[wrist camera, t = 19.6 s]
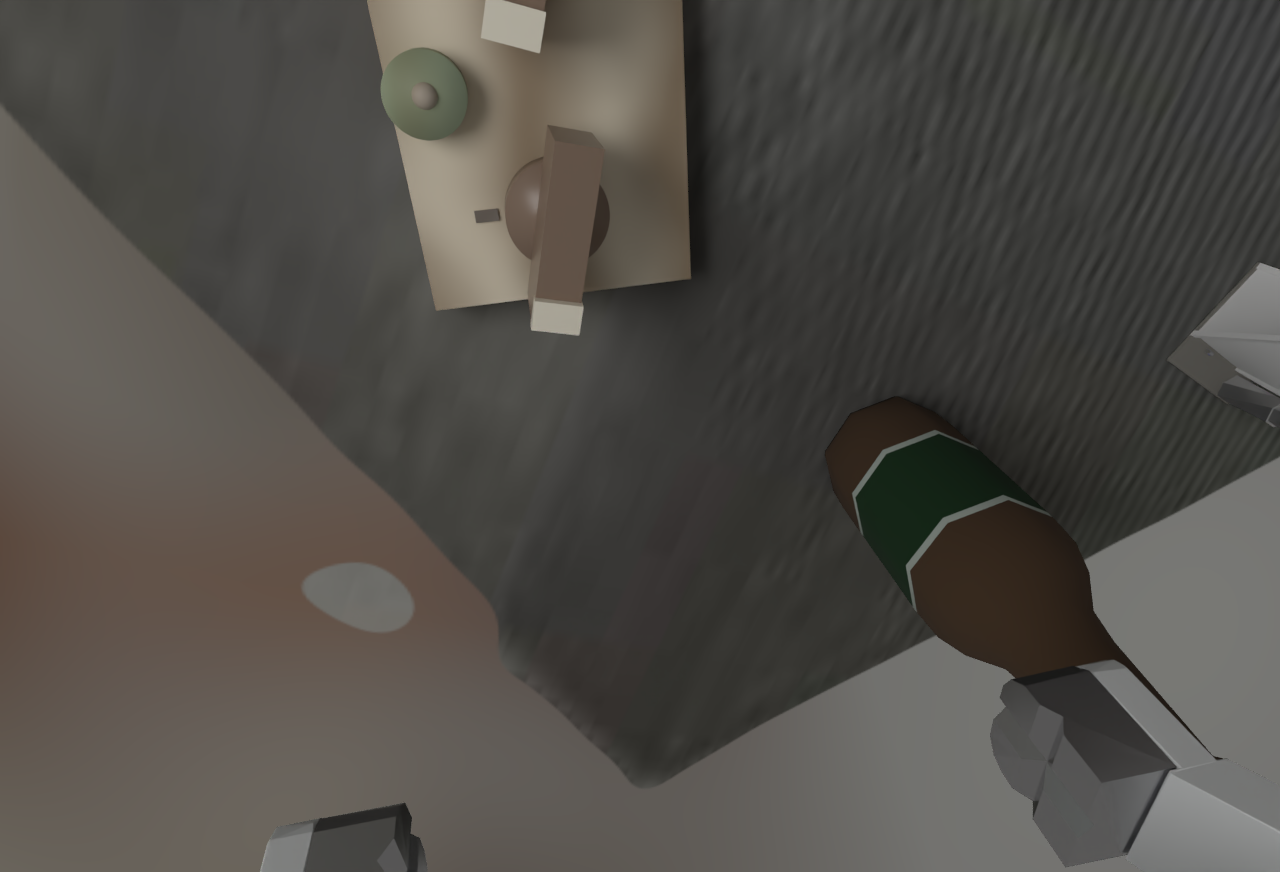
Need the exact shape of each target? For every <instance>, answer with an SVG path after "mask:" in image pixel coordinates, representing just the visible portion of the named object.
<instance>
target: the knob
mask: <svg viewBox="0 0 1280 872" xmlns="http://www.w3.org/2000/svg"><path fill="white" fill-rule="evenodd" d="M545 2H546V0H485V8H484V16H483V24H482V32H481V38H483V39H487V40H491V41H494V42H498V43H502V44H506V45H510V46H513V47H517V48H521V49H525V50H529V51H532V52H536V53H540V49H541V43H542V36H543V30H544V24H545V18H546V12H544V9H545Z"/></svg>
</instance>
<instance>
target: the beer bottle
mask: <svg viewBox="0 0 1280 872" xmlns="http://www.w3.org/2000/svg"><path fill="white" fill-rule="evenodd" d="M825 457H826V461H827V465H828V470H829V474H830V478H831V483H832V487H833V491H834V493H835V494H836V496H837V498H838V499H839V501H840V503H841V505H842V506H843V508H844V509H845V511H846V512H847V514H848V515H849V517H850V518H851V519H852V521H853V522H854V524H855V525H856V526H857V528H858V529H859V531H860V532H861V534H862V535H863V536H864V538H865V539H866V541H867V542H868V544H869V545H870V546H871V548H872V549H873V551H874V552H875V553H876V555H877V556H878V558H879V559H880V561H881V562H882V563H883V565H884V566H885V568H886V569H887V570H888V572H889V573H890V575H891V576H892V578H893V579H894V580H895V582H896V583H897V585H898V586H899V588H900V589H901V590H902V592H903V593H904V595H905V596H906V597H907V599H908V600H909V602H910V603H911V605H912V606H913V607H914V609H915V610H916V612H917V613H918V614H919V615H920V616H921V618H922V619H923V620H924V621H925V622H926V624H927V625H928V626H929V627H930V628H931V629H932V631H933V632H934V633H935V634H936V635H937V636H938V638H940V639H942V640H943V641H945V642H946V643H948V644H949V645H951V646H952V647H954V648H955V649H957V650H958V651H960V652H961V653H963V654H964V655H966V656H969V657H972V658H975V659H978V660H980V661H983V662H986V663H989V664H992V665H995V666H998V667H1001V668H1004V669H1006V670H1007V671H1009V673H1011V674H1012V675H1013V676H1014V677H1015V678H1020V677H1025V676H1029V675H1034V674H1038V673H1043V672H1047V671H1052V670H1056V669H1061V668H1065V667H1070V666H1080V665H1084V664H1089V663H1093V662H1098V661H1102V660H1115V661H1117V662H1119V663H1121V664H1123V665H1124V666H1125V667H1126V668H1128V669H1129V671H1130V672H1131V673H1132V674H1133V675H1134V676H1135V677H1136V678H1137V679H1138V680H1139V681H1140V682H1141V683H1142V684H1143V685H1144V686H1145V687H1146V688H1147V689H1148V690H1149V691H1150V692H1151V693H1152V694H1153V695H1154V696H1155V697H1156V698H1157V699H1158V700H1159V701H1160V702H1161V703H1162V705H1163V706H1164V707H1165V708H1166V709H1167V710H1168V711H1169V712H1170V713H1171V714H1172V715H1173V716H1174V717H1175V718H1176V719H1177V720H1178V721H1179V722H1180V723H1181V724H1182V725H1183V726H1184V727H1185V728H1186V729H1187V730H1188V731H1189V732H1190V733H1191V734H1192V735H1193V736H1194V738H1195V739H1196V740H1197V741H1198V742H1199V743H1200V744H1201V745H1202V746H1203V747H1204V748H1205V749H1206V747H1205V746H1204V745H1203V744H1202V743H1201V742H1200V740H1199V739H1198V738H1197V737H1196V736H1195V735H1194V734H1193V732H1192V731H1191V730H1190V729H1189V728H1188V727H1187V725H1186V724H1185V723H1184V722H1183V721H1182V720H1181V718H1180V717H1179V716H1178V715H1177V714H1176V713H1175V712H1174V710H1172V708H1171V707H1170V706H1169V705H1168V704H1167V703H1166V701H1165V700H1164V699H1163V698H1162V697H1161V695H1160V694H1159V693H1158V692H1157V691H1156V690H1155V688H1154V687H1153V686H1152V685H1151V684H1150V683H1149V682H1148V680H1147V679H1146V678H1145V677H1144V676H1143V675H1142V673H1141V672H1140V671H1139V670H1138V669H1137V668H1136V667H1135V665H1134V664H1133V663H1132V662H1131V661H1130V660H1129V658H1128V657H1127V656H1126V655H1125V654H1124V653H1123V652H1122V650H1121V649H1120V648H1119V647H1118V646H1117V645H1116V643H1115V642H1114V641H1113V639H1112V638H1111V636H1110V635H1109V633H1108V632H1107V630H1106V629H1105V627H1104V626H1103V624H1102V623H1101V621H1100V620H1099V619H1098V617H1097V616H1096V614H1095V613H1094V611H1093V602H1092V593H1091V584H1090V575H1089V571H1088V569H1087V567H1086V564H1085V562H1084V560H1083V557H1082V555H1081V553H1080V551H1079V548H1078V546H1077V544H1076V542H1075V541H1074V540H1073V539H1072V538H1071V537H1070V536H1069V535H1068V533H1067V532H1066V531H1065V530H1064V529H1063V528H1062V527H1061V526H1060V525H1059V524H1058V522H1057V521H1056V520H1055V519H1054V518H1053V517H1052V516H1051V515H1050V514H1049V513H1048V512H1046V511H1045V510H1044V509H1043V508H1042V507H1041V506H1040V505H1039V504H1038V503H1037V502H1035V501H1034V500H1033V499H1032V498H1031V497H1030V496H1029V495H1028V494H1027V493H1026V492H1024V491H1023V490H1022V489H1021V488H1020V487H1019V486H1018V485H1017V484H1016V483H1015V482H1013V481H1012V480H1011V479H1010V478H1009V477H1008V476H1007V475H1006V474H1005V473H1004V472H1002V471H1001V470H1000V469H999V468H998V467H997V466H996V465H995V464H994V463H993V462H992V461H990V460H989V459H988V458H987V457H986V456H985V455H984V454H983V453H982V452H981V451H979V450H978V449H977V448H976V447H975V446H974V445H973V444H972V443H971V442H970V441H968V440H967V439H966V438H965V437H964V436H963V435H962V434H961V433H960V432H959V431H957V430H956V429H955V428H954V427H953V426H952V425H951V424H949V423H948V422H947V421H945V420H944V419H943V418H942V417H940V416H939V415H938V414H936V413H935V412H933V411H930V410H928V409H926V408H923V407H921V406H919V405H916V404H914V403H912V402H909V401H907V400H905V399H902V398H900V397H892V398H890V399H887V400H884V401H882V402H879V403H876V404H874V405H871V406H869V407H866V408H863V409H861V410H858V411H856V412H853V413H850V415H849V416H848V418H847V419H846V421H845V422H844V424H843V425H842V427H841V428H840V430H839V431H838V433H837V434H836V436H835V437H834V439H833V440H832V442H831V443H830V445H829V446H828V448H827V449H826V451H825ZM1206 750H1207V749H1206ZM1207 751H1208V750H1207ZM1208 752H1209V751H1208ZM1209 753H1210V752H1209ZM1210 754H1211V753H1210ZM1211 755H1212V754H1211ZM1212 756H1213V755H1212ZM1213 757H1214V756H1213ZM1214 758H1215V759H1216V760H1219V759H1223V758H1219V757H1214Z"/></svg>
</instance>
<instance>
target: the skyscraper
mask: <svg viewBox="0 0 1280 872" xmlns="http://www.w3.org/2000/svg"><path fill="white" fill-rule="evenodd" d="M1166 360H1167V361H1169V362H1170V363H1171V364H1173V365H1174V366H1175V367H1177V368H1178V369H1179V370H1181V371H1182V372H1184V373H1185V374H1186V375H1188V376H1189V377H1190V378H1192V379H1193V380H1194V381H1196V382H1197V383H1198V384H1200V385H1201V386H1203V387H1204V388H1205V389H1207V390H1208V391H1209V392H1211V393H1212V394H1213V395H1215V396H1216V397H1217V398H1219V399H1220V400H1222V401H1223V402H1224V403H1226V404H1227V405H1228V404H1229V403H1230V404H1232V405H1234V406H1236V407H1238V408H1240V409H1242V410H1244V411H1246V412H1248V413H1250V414H1252V415H1254V416H1256V417H1258V418H1259V419H1261V420H1263V421H1265V422H1267V423H1268V424H1270V425H1271V426H1272V427H1275V426H1277V427H1279V428H1280V398H1279V397H1277V396H1275V395H1273V394H1271V393H1269V392H1267V391H1266V390H1264V389H1262V388H1260V387H1258V386H1256V385H1254V384H1252V383H1251V381H1254V382H1255V383H1257V384H1259V385H1261V386H1262V387H1264V388H1266V389H1268V390H1269V391H1271V392H1273V393H1274V394H1276V395H1278V396H1280V269H1277V268H1274V267H1271V266H1268V265H1265V264H1262V263H1259V262H1257V264H1256V265H1255V266H1254V267H1253V268H1252V269H1251V270H1250V271H1249V272H1248V273H1247V274H1246V275H1245V276H1244V277H1243V278H1242V280H1241V281H1240V282H1239V283H1238V284H1237V285H1236V286H1235V287H1234V288H1233V289H1232V290H1231V291H1230V292H1229V293H1228V294H1227V296H1226V297H1225V298H1224V299H1223V300H1222V301H1221V302H1220V303H1219V304H1218V305H1217V306H1216V307H1215V308H1214V309H1213V310H1212V312H1211V313H1210V314H1209V315H1208V316H1207V317H1206V318H1205V319H1204V320H1203V321H1202V322H1201V323H1200V324H1199V325H1198V326H1197V328H1196V329H1195V330H1194V331H1193V332H1192V333H1191V334H1190V335H1189V336H1188V337H1187V338H1186V339H1185V340H1184V341H1183V342H1182V344H1181V345H1180V346H1179V347H1178V348H1177V349H1176V350H1175V351H1174V352H1173V353H1172V354H1171V355H1170V356H1169V357H1168V358H1167V359H1166Z"/></svg>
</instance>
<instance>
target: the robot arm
mask: <svg viewBox="0 0 1280 872" xmlns="http://www.w3.org/2000/svg"><path fill="white" fill-rule="evenodd" d="M1000 699H1001V700H1002V702H1003V703H1004V704H1005V706H1006V707H1005V708H1004V709H1003V710H1002V711H1001V712H1000V713H999V714H998V715H997V716H996V717H995V718H994V719H993V724H992V728H991V733H990V737H991V743H992V748H993V753H994V756H995V758H996V760H997V763H998V765H999V767H1000V770H1001V771H1002V773H1003V775H1004V776H1005V778H1006V779H1007V781H1008V782H1009V784H1010V785H1011V787H1012V788H1013V789H1015V790H1016V791H1018V792H1019V793H1021V794H1023V795H1024V796H1026V797H1028V798H1029V799H1031V800H1032V801H1033V820H1034V821H1035V823H1036V824H1037V826H1038V827H1039V829H1040V830H1041V832H1042V833H1043V834H1044V836H1045V838H1046V839H1047V841H1048V842H1049V844H1050V845H1051V847H1052V848H1053V849H1054V851H1055V852H1056V854H1057V855H1058V857H1059V858H1060V860H1061V861H1062V863H1063V864H1064V866H1065V867H1069V866H1074V865H1079V864H1084V863H1089V862H1094V861H1098V860H1104V859H1108V858H1113V857H1119V856H1123V855H1127V857H1126V860H1128V861H1129V862H1130V863H1132V864H1133V865H1135V866H1136V867H1137V868H1139V869H1140V870H1141V871H1143V872H1280V785H1279V784H1277V783H1275V782H1273V781H1271V780H1269V779H1267V778H1265V777H1263V776H1261V775H1259V774H1257V773H1255V772H1253V771H1251V770H1249V769H1247V768H1245V767H1243V766H1241V765H1239V764H1237V763H1235V762H1233V761H1231V760H1229V759H1227V758H1225V759H1219V760H1216V759H1215V758H1214V757H1213V756H1212V755H1211V754H1210V753H1209V752H1208V751H1207V750H1206V749H1205V748H1204V747H1203V746H1202V745H1201V744H1200V743H1199V742H1198V741H1197V740H1196V739H1195V738H1194V736H1193V735H1192V734H1191V733H1190V732H1189V731H1188V730H1187V729H1186V728H1185V727H1184V726H1183V725H1182V724H1181V723H1180V722H1179V721H1178V720H1177V719H1176V718H1175V717H1174V716H1173V715H1172V714H1171V713H1170V712H1169V711H1168V710H1167V709H1166V708H1165V707H1164V706H1163V705H1162V703H1161V702H1160V701H1159V700H1158V699H1157V698H1156V697H1155V696H1154V695H1153V694H1152V693H1151V692H1150V691H1149V690H1148V689H1147V688H1146V687H1145V686H1144V685H1143V684H1142V683H1141V682H1140V681H1139V680H1138V679H1137V678H1136V677H1135V676H1134V675H1133V674H1132V673H1131V672H1130V671H1129V669H1128V668H1126V667H1125V666H1124V665H1123V664H1121V663H1119V662H1117V661H1115V660H1102V661H1098V662H1093V663H1089V664H1084V665H1080V666H1070V667H1065V668H1061V669H1056V670H1052V671H1047V672H1043V673H1038V674H1034V675H1029V676H1025V677H1020V678H1015V679H1011V680H1010V681H1008V682H1007V683H1006V684H1005V685H1003V688H1002V692H1001V695H1000ZM411 822H412V817H411V815H410V813H409V810H408V808H407V806H406V804H405V803H400V804H396V805H390V806H385V807H380V808H374V809H370V810H364V811H359V812H354V813H348V814H343V815H338V816H332V817H328V818H319V819H314V820H309V821H304V822H300V823H294V824H290V825H285V826H280V827H277V828H276V830H275V831H274V833H273V835H272V837H271V838H270V840H269V842H268V844H267V847H266V851H265V855H264V859H263V863H262V867H261V870H260V872H427V862H426V857H425V852H424V848H423V846H422V843H421V840H420V838H419V837H416V836H414V835H412V834H411Z"/></svg>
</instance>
